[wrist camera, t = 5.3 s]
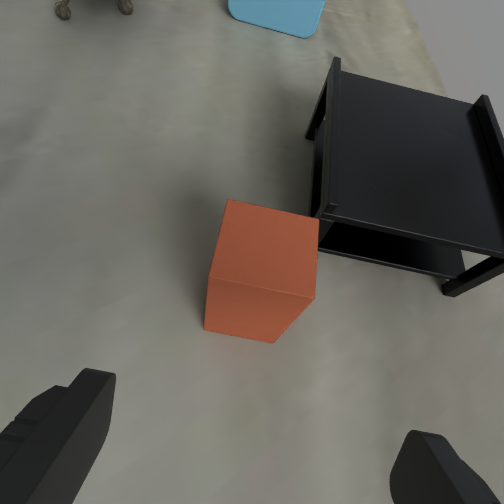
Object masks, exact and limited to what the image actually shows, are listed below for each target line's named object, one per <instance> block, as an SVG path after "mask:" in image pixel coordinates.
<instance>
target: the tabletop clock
mask: <svg viewBox="0 0 504 504" xmlns="http://www.w3.org/2000/svg"><path fill="white" fill-rule="evenodd" d="M68 2H69V0H62V2H57V3H56V4H55V6H54V11H55V13H56V15H57V16H58V17H59V18H61V19H63V20H66V19H69V17H70V15H71V11H70V9H69V7H68V6H67V5H68ZM119 8H120V10H121V11H122V12H123V13H124V14H128V15H129V14H131V13H132V11H133V5H132V3H131V1H130V0H120V1H119Z"/></svg>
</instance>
